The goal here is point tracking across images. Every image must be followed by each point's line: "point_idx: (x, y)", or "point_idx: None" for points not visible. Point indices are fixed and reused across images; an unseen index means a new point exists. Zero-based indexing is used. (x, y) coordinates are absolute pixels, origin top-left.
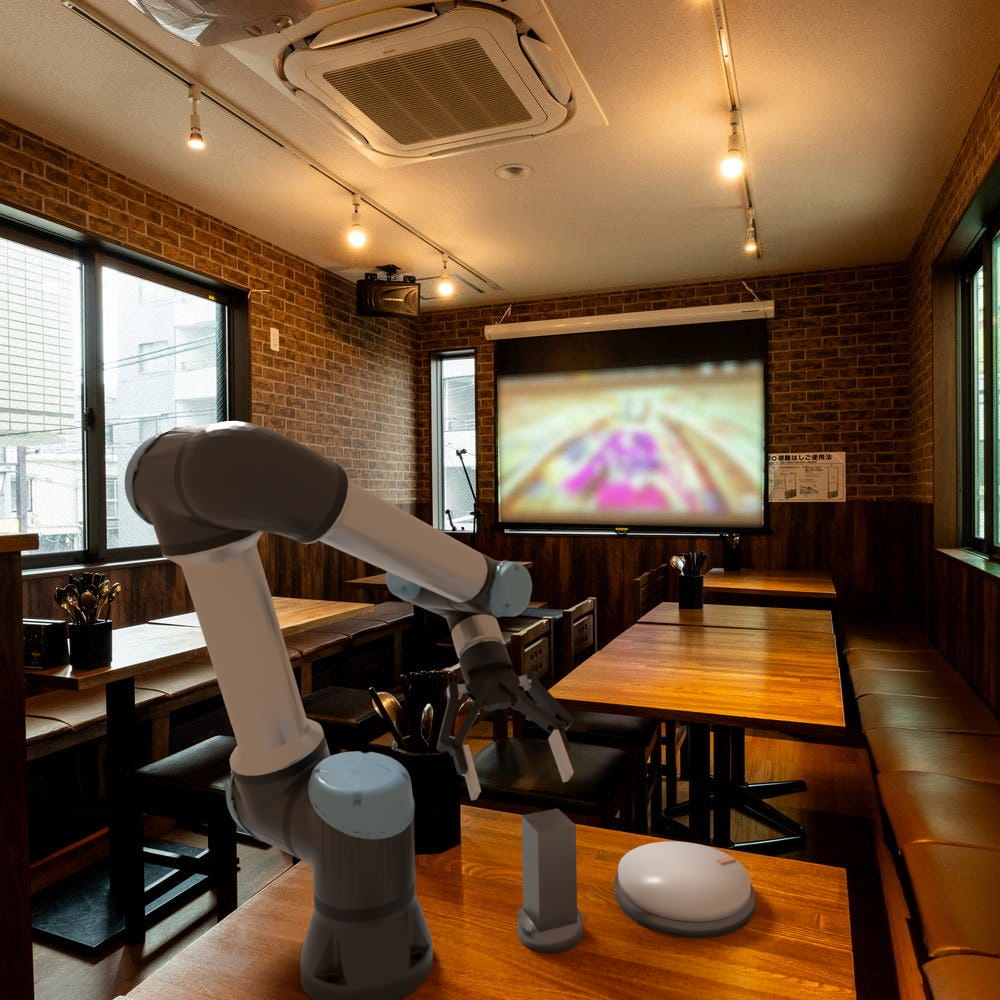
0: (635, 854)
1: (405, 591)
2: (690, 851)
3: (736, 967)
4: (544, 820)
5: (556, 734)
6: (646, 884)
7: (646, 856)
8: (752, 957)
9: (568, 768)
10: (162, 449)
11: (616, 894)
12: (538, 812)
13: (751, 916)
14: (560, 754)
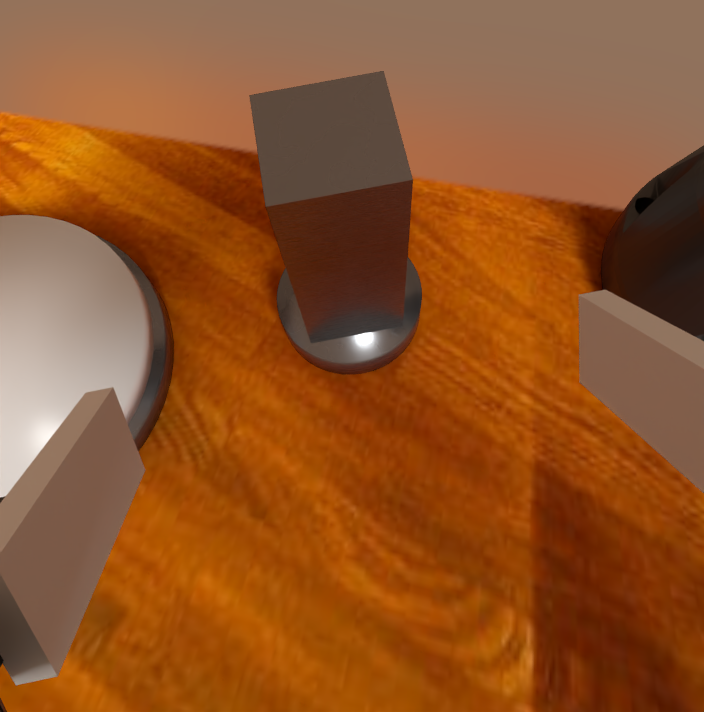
0: None
1: None
2: None
3: (69, 171)
4: (340, 136)
5: (2, 535)
6: (94, 321)
7: (17, 448)
8: (27, 187)
9: (97, 401)
10: None
11: (163, 383)
12: (346, 190)
13: None
14: (80, 470)
